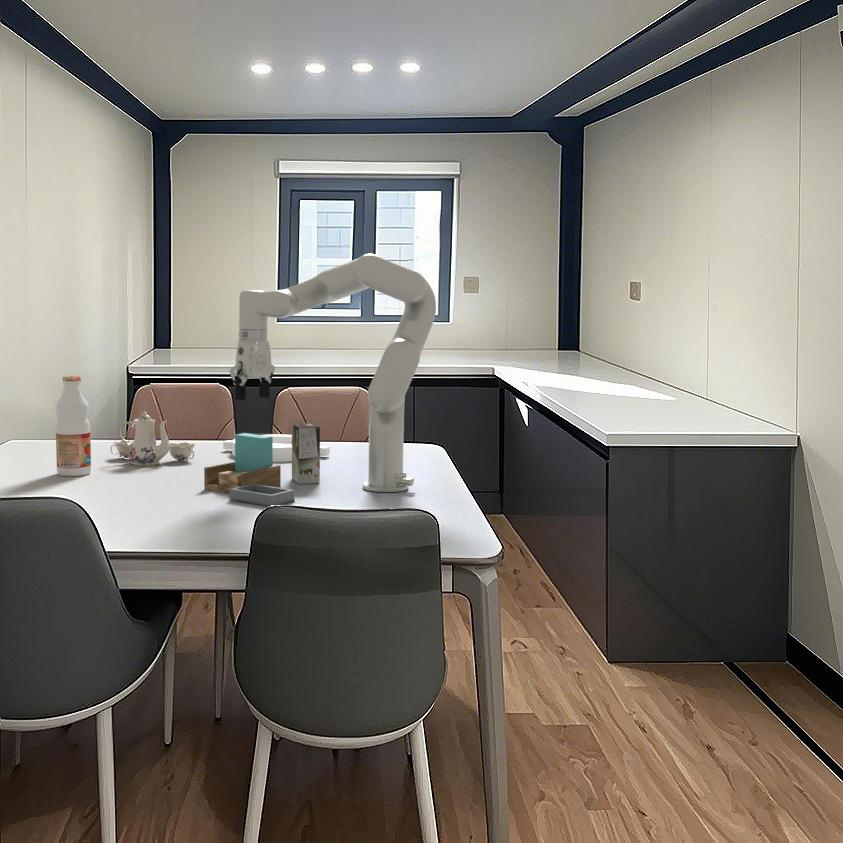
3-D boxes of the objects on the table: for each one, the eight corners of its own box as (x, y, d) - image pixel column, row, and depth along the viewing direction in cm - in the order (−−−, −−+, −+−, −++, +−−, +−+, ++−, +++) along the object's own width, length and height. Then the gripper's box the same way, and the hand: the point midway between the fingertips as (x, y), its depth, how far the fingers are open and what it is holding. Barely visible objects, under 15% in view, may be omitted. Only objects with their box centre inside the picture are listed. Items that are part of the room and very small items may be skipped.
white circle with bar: (333, 459, 340) (333, 444, 339) (250, 465, 326) (250, 449, 325) (298, 446, 364) (298, 432, 363) (220, 451, 350) (220, 437, 349)
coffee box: (320, 483, 298) (321, 426, 295) (298, 484, 295) (298, 427, 293) (312, 477, 306) (312, 422, 304) (290, 478, 304) (290, 423, 302)
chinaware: (201, 464, 333) (203, 411, 333) (185, 468, 317) (186, 412, 316) (115, 461, 336) (116, 408, 336) (94, 464, 319) (95, 409, 319)
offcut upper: (248, 483, 285) (248, 473, 285) (237, 485, 282) (237, 476, 282) (229, 479, 289) (229, 470, 289) (218, 482, 286) (218, 472, 286)
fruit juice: (53, 472, 306) (50, 375, 302) (85, 469, 311) (83, 374, 308) (61, 478, 298) (59, 378, 295) (95, 475, 304) (93, 377, 300)
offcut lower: (248, 492, 286) (248, 482, 285) (238, 494, 282) (238, 485, 282) (229, 488, 289) (229, 479, 289) (219, 491, 286) (219, 482, 286)
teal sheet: (272, 486, 292) (272, 436, 290) (263, 489, 288) (262, 438, 286) (244, 482, 297) (244, 433, 295) (235, 484, 294) (234, 434, 292)
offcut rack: (280, 486, 291) (280, 465, 291) (243, 495, 279) (243, 473, 278) (241, 481, 299) (241, 460, 298) (204, 489, 286) (204, 467, 285)
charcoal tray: (294, 501, 273) (294, 490, 273) (271, 507, 266) (271, 495, 265) (253, 494, 280) (253, 483, 280) (229, 500, 273) (229, 489, 272)
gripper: (242, 337, 278) (241, 402, 280) (284, 335, 292) (283, 397, 295) (220, 336, 282) (220, 400, 284) (263, 334, 296) (262, 395, 299)
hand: (252, 398), depth 289 cm, fingers open, 9 cm apart
